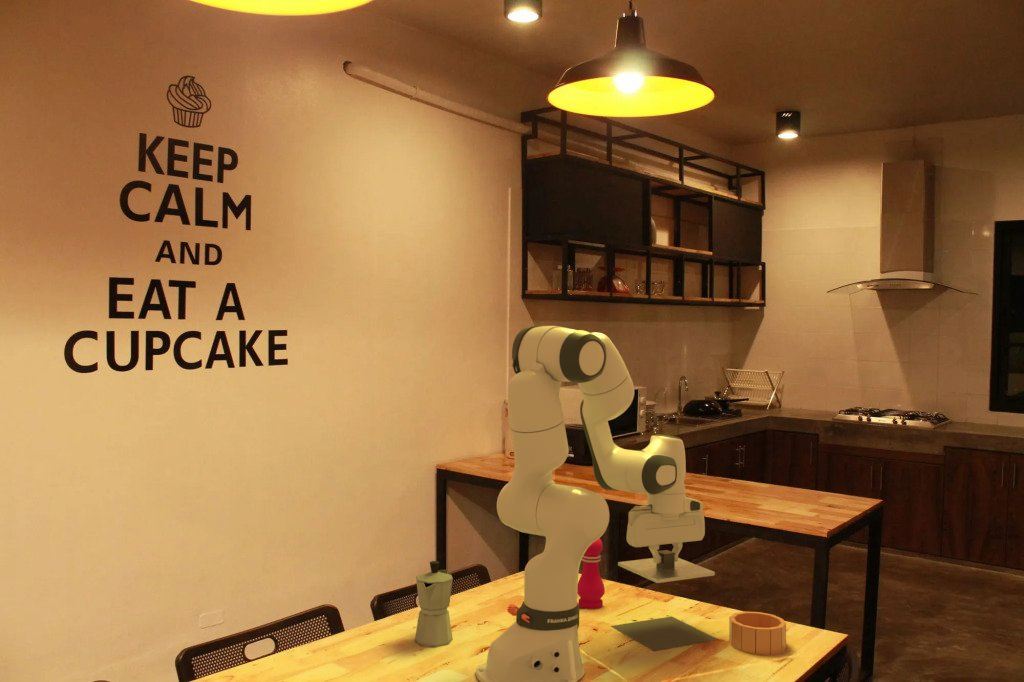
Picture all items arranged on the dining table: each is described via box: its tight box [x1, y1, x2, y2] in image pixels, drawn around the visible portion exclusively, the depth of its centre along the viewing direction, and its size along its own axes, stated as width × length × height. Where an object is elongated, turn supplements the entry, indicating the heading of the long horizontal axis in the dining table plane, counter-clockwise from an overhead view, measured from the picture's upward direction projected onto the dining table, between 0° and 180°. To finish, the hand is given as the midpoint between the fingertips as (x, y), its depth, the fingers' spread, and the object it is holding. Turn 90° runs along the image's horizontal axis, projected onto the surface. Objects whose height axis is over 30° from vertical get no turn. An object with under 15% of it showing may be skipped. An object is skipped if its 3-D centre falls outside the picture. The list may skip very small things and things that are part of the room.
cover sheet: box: [617, 549, 716, 584], centre depth 197 cm, size 16×16×4 cm
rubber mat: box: [610, 615, 719, 652], centre depth 197 cm, size 18×18×1 cm
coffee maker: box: [414, 560, 454, 648], centre depth 193 cm, size 15×9×18 cm, turn 168°
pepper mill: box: [577, 537, 606, 610], centre depth 217 cm, size 7×7×20 cm
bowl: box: [728, 611, 787, 656], centre depth 190 cm, size 12×12×6 cm
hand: (665, 562), depth 197 cm, fingers closed on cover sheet, 3 cm apart
